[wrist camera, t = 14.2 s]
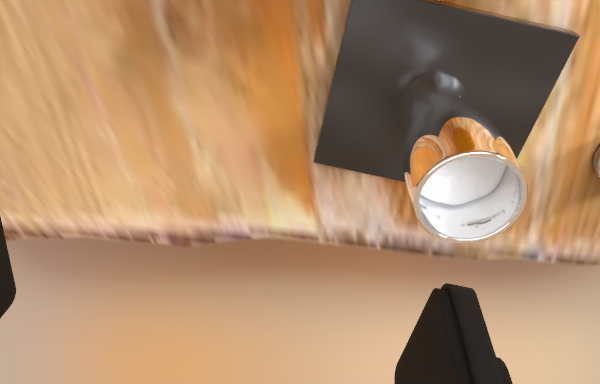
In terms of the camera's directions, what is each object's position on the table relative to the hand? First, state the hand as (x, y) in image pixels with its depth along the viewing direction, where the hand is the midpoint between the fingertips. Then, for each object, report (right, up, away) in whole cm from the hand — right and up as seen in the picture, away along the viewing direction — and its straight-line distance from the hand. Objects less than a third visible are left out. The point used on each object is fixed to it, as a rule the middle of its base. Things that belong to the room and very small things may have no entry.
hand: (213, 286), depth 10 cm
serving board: (+14, +10, +31) cm, 36 cm away
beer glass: (+13, +10, +30) cm, 35 cm away
